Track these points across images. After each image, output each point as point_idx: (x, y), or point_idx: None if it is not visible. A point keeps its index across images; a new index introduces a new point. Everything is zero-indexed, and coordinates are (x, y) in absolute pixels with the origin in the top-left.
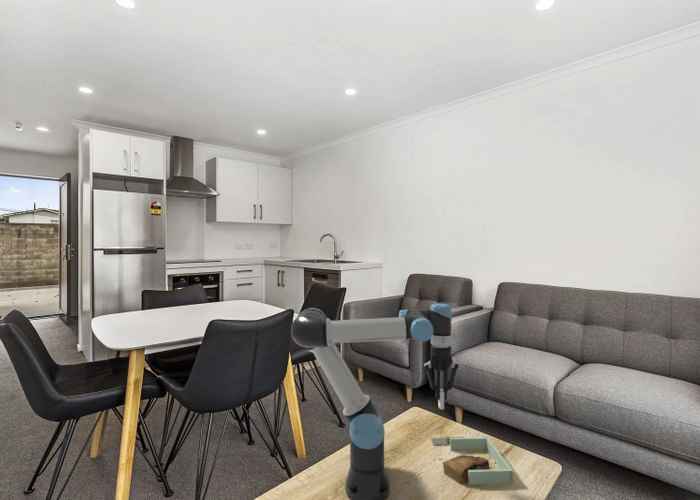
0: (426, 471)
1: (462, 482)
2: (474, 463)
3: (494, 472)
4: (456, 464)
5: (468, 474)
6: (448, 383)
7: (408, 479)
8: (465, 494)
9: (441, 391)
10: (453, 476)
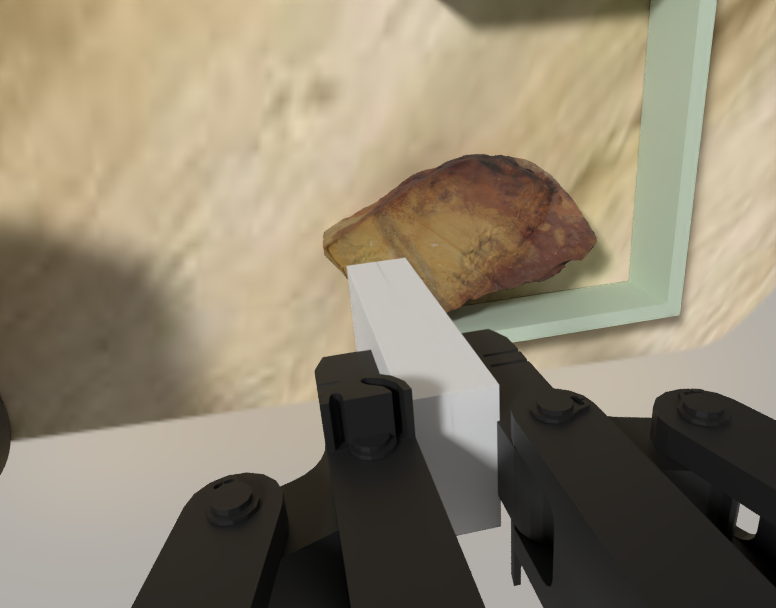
0: (219, 237)
1: None
2: (507, 278)
3: (582, 328)
4: None
5: None
6: (751, 486)
7: (109, 319)
8: None
9: (451, 513)
10: None
